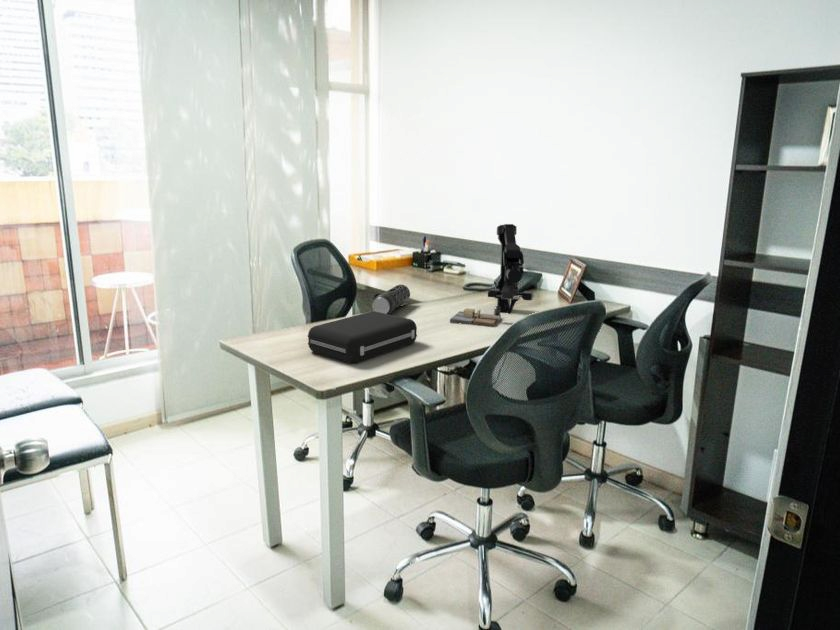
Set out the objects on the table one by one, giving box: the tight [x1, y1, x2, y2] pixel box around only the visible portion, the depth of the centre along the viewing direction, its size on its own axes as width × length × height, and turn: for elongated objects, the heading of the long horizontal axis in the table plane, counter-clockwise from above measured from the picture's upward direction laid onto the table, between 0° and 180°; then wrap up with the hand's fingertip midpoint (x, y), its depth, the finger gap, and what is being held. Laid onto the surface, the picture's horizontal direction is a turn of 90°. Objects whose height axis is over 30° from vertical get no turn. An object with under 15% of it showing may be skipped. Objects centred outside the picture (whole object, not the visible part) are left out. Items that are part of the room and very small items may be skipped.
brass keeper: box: [463, 307, 482, 319], centre depth 273 cm, size 4×7×3 cm, turn 70°
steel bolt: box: [480, 305, 501, 319], centre depth 270 cm, size 2×8×5 cm, turn 70°
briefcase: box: [307, 310, 418, 364], centre depth 235 cm, size 36×32×10 cm
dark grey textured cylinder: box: [371, 284, 411, 315], centre depth 287 cm, size 10×28×10 cm, turn 163°
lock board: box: [449, 310, 502, 328], centre depth 273 cm, size 15×19×2 cm
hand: (509, 313), depth 267 cm, fingers closed
